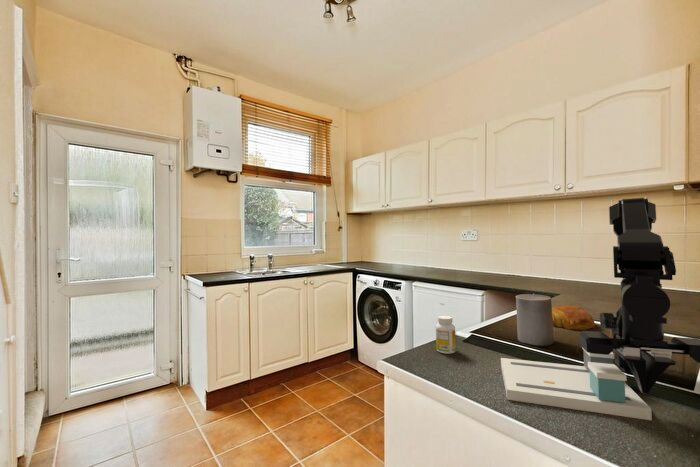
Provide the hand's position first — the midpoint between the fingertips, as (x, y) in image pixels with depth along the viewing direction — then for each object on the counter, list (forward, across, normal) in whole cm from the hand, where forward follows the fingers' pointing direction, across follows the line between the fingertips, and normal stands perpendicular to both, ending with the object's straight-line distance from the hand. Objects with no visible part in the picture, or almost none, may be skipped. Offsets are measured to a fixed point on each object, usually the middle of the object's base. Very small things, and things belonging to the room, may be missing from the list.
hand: (644, 392), depth 60 cm
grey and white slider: (+1, +3, -12) cm, 13 cm away
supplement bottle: (+4, +37, -22) cm, 43 cm away
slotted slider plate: (+4, +12, -6) cm, 14 cm away
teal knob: (+1, +6, 0) cm, 6 cm away
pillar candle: (+4, +12, -39) cm, 41 cm away
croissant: (+4, -3, -62) cm, 62 cm away
